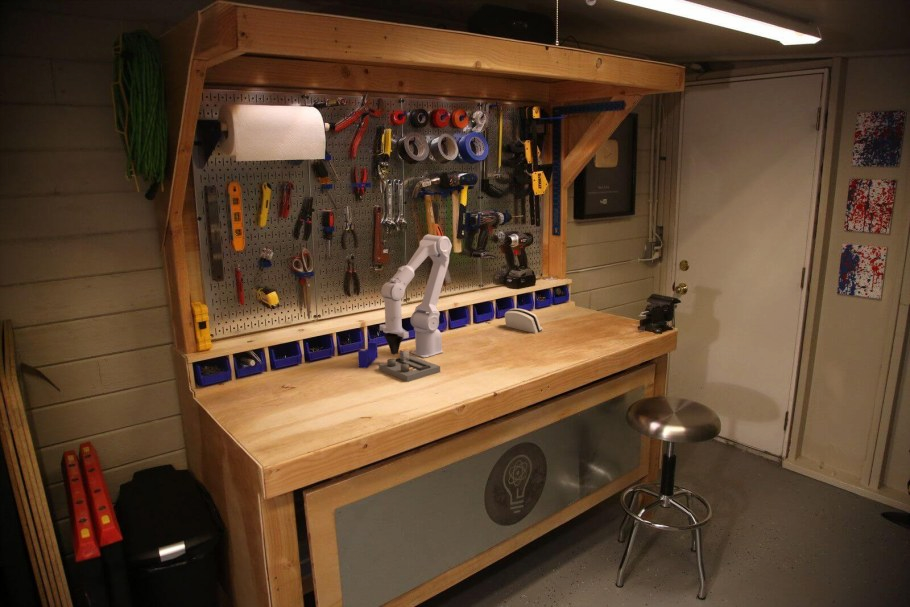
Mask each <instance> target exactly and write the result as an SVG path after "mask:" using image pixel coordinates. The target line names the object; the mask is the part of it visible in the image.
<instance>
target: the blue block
mask: <svg viewBox="0 0 910 607" xmlns="http://www.w3.org/2000/svg"><path fill="white" fill-rule="evenodd" d="M357 354H358V356H357V357H358V368H361V369H362V368H363V369H365V368H366V369H367V368H369V367H370V365H372V363H373V362H375V361H376V359H377V358H378V357H379V356H378V354H379V353H378V341H368V342H367V349H366V348H365V349H363V350H361V349H360V350H358V351H357Z"/></svg>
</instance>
